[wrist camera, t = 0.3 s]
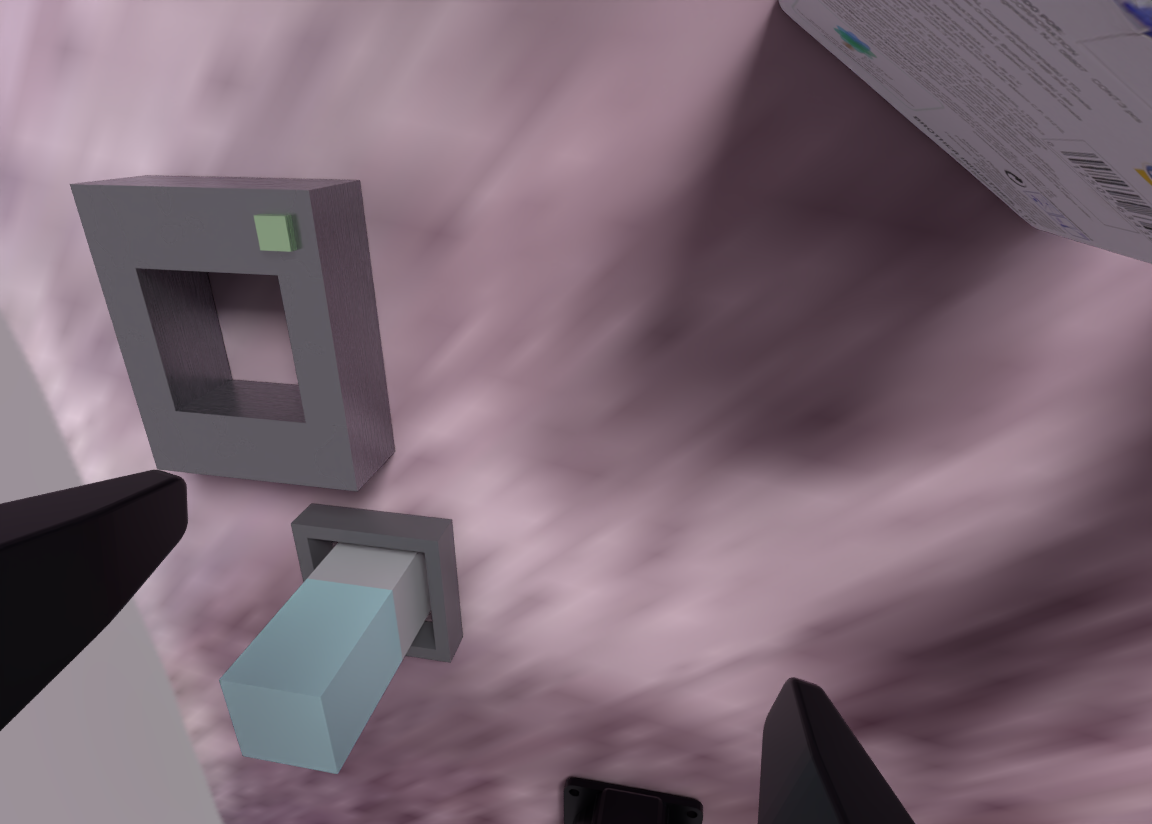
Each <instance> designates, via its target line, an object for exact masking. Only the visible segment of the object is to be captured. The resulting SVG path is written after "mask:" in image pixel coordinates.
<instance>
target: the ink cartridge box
mask: <svg viewBox="0 0 1152 824" xmlns="http://www.w3.org/2000/svg"><path fill="white" fill-rule="evenodd" d="M779 4H780V6H781V8H782V10H783V11H784V12H785V13H786V14H787V15H788V16H790V17H791V18H792V19H793V20H794V21H795V22H796V23H797V24H799V25H800V26H801V27H802V28H803V29H804V30H806V31H807V32H808V33H809V34H810V35H811V36H813V37H814V38H815V39H816V40H817V41H818V42H819V43H821V44H822V45H823V46H824V47H825V48H826V49H828V50H829V51H830V52H831V53H832V54H833V55H835V56H836V57H837V58H838V59H839V60H840V61H842V62H843V63H844V64H845V65H846V66H847V67H849V68H850V69H851V70H852V71H853V72H854V73H856V74H857V75H858V76H859V77H860V78H861V79H862V80H864V81H865V82H866V83H867V84H868V85H869V86H871V87H872V88H873V89H874V90H875V91H876V92H877V93H879V94H880V95H881V96H882V97H883V98H884V99H885V100H887V101H888V102H889V103H890V104H891V105H892V106H893V107H895V108H896V109H897V110H898V111H899V112H900V113H901V114H903V115H904V116H905V117H906V118H907V119H908V120H909V121H911V122H912V123H913V124H914V125H915V126H916V127H917V128H919V129H920V130H921V131H922V132H923V133H924V134H926V135H927V136H928V137H929V138H930V139H932V140H933V141H934V142H935V143H936V144H937V145H939V146H940V147H941V148H942V149H943V150H945V151H946V152H947V153H948V154H949V155H950V156H952V157H953V158H954V159H955V160H956V161H957V162H959V163H960V164H961V165H962V166H963V167H964V168H965V169H967V170H968V171H969V172H970V173H971V174H972V175H973V176H975V177H976V178H977V179H978V180H979V181H980V182H981V183H983V184H984V185H985V186H986V187H987V188H988V189H989V190H991V191H992V192H993V193H994V194H995V195H996V196H997V197H999V198H1000V199H1001V200H1002V201H1003V202H1004V203H1006V204H1007V205H1008V206H1009V207H1010V208H1011V209H1012V210H1013V211H1014V212H1015V213H1017V214H1018V215H1019V216H1020V217H1021V218H1023V219H1024V220H1025V221H1026V222H1027V223H1029V224H1030V225H1031V226H1033V227H1035V228H1036V229H1039V230H1042V231H1046V232H1049V233H1052V234H1055V235H1058V236H1062V237H1065V238H1068V239H1071V240H1074V241H1078V242H1081V243H1084V244H1088V245H1091V246H1095V247H1098V248H1101V249H1104V250H1107V251H1111V252H1114V253H1117V254H1121V255H1124V256H1127V257H1131V258H1134V259H1137V260H1141V261H1144V262H1148V263H1151V264H1152V0H779Z"/></svg>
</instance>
